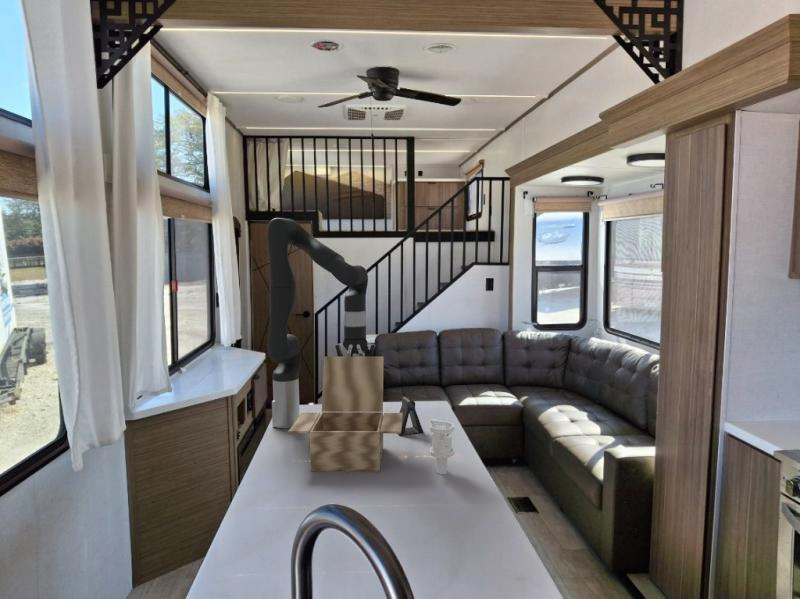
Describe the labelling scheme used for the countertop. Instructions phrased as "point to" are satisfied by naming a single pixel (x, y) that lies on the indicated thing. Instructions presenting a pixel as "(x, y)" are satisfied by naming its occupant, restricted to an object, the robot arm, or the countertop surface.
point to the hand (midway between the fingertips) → (355, 373)
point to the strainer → (441, 444)
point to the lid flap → (353, 384)
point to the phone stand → (407, 409)
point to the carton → (347, 438)
